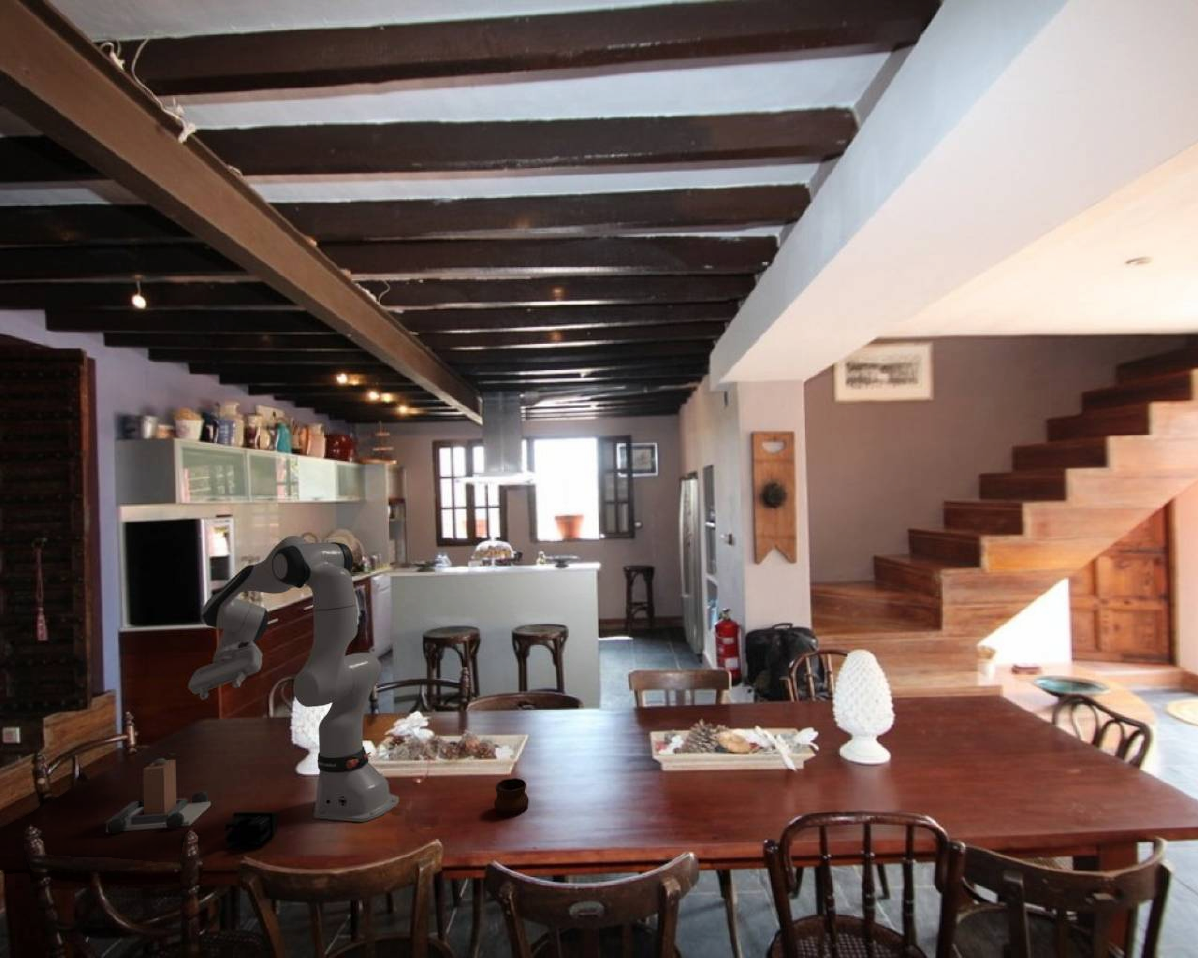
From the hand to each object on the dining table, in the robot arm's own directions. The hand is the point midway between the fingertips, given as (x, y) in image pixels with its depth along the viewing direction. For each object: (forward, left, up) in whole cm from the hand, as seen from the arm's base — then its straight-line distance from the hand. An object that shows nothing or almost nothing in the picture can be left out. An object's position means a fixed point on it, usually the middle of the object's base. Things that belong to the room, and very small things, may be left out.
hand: (219, 691), depth 198 cm
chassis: (+2, +16, -29) cm, 33 cm away
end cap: (-33, +16, -29) cm, 47 cm away
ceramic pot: (-84, -21, -29) cm, 91 cm away
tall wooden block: (+2, +16, -28) cm, 32 cm away
